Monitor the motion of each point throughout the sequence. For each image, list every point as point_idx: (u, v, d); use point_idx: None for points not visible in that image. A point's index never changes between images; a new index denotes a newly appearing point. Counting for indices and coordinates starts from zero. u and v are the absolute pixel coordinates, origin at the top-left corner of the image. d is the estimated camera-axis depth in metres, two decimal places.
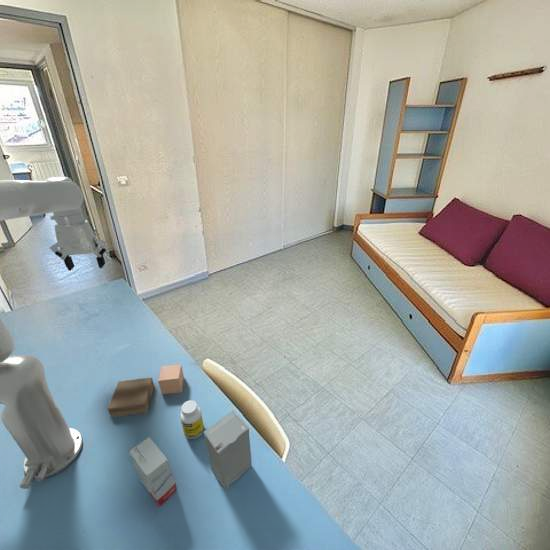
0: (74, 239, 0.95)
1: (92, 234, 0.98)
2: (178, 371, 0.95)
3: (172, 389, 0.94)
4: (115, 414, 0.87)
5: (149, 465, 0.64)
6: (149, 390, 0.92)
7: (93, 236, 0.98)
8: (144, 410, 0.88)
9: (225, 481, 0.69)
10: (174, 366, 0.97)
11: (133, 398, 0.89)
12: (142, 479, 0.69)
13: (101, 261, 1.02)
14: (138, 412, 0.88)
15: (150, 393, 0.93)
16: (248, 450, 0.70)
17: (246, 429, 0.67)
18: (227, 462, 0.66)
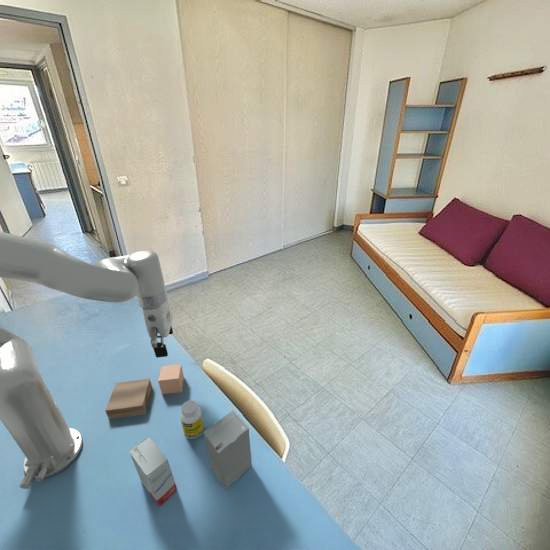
0: (167, 311, 0.85)
1: None
2: (178, 371, 0.95)
3: (172, 389, 0.94)
4: (113, 416, 0.87)
5: (149, 465, 0.64)
6: (147, 392, 0.92)
7: None
8: (142, 412, 0.88)
9: (225, 481, 0.69)
10: (174, 366, 0.97)
11: (130, 400, 0.88)
12: (142, 479, 0.69)
13: None
14: (136, 414, 0.88)
15: (148, 394, 0.92)
16: (248, 450, 0.70)
17: (246, 429, 0.67)
18: (227, 462, 0.66)
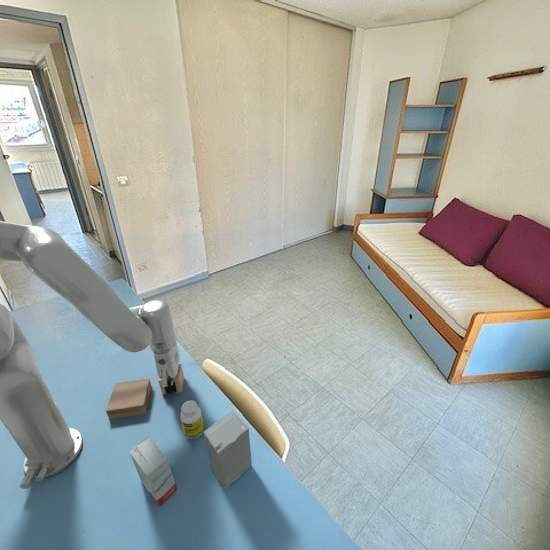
0: (175, 353, 0.92)
1: None
2: (178, 371, 0.95)
3: None
4: (114, 416, 0.87)
5: (149, 465, 0.64)
6: (147, 391, 0.92)
7: None
8: (143, 411, 0.88)
9: (225, 481, 0.69)
10: None
11: (131, 400, 0.88)
12: (142, 479, 0.69)
13: None
14: (137, 413, 0.88)
15: (148, 394, 0.93)
16: (248, 450, 0.70)
17: (246, 429, 0.67)
18: (227, 462, 0.66)
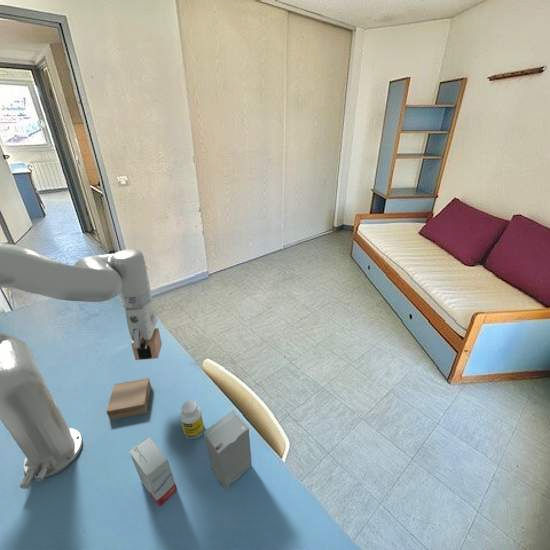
0: (151, 313, 0.83)
1: None
2: (154, 334, 0.85)
3: None
4: (114, 417, 0.87)
5: (149, 465, 0.64)
6: (147, 391, 0.92)
7: None
8: (144, 411, 0.88)
9: (225, 481, 0.69)
10: None
11: (131, 399, 0.88)
12: (142, 479, 0.69)
13: None
14: (137, 413, 0.88)
15: (148, 393, 0.93)
16: (248, 450, 0.70)
17: (246, 429, 0.67)
18: (227, 462, 0.66)
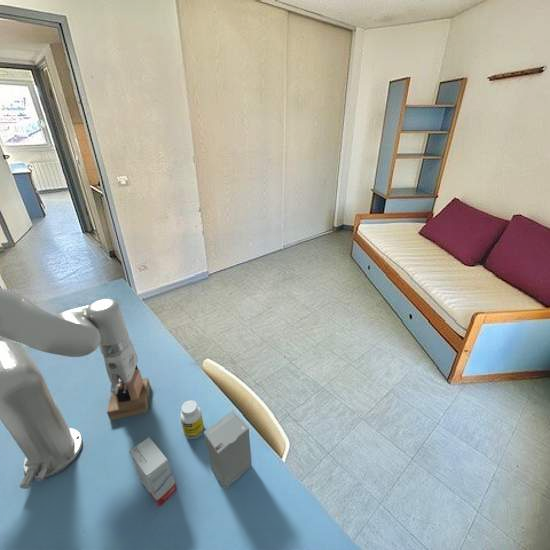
0: (130, 356, 0.85)
1: None
2: (134, 377, 0.88)
3: None
4: (115, 417, 0.86)
5: (149, 465, 0.64)
6: (147, 391, 0.92)
7: None
8: (144, 410, 0.88)
9: (225, 481, 0.69)
10: None
11: None
12: (142, 479, 0.69)
13: (135, 367, 0.94)
14: (138, 413, 0.88)
15: (148, 393, 0.93)
16: (248, 450, 0.70)
17: (246, 429, 0.67)
18: (227, 462, 0.66)
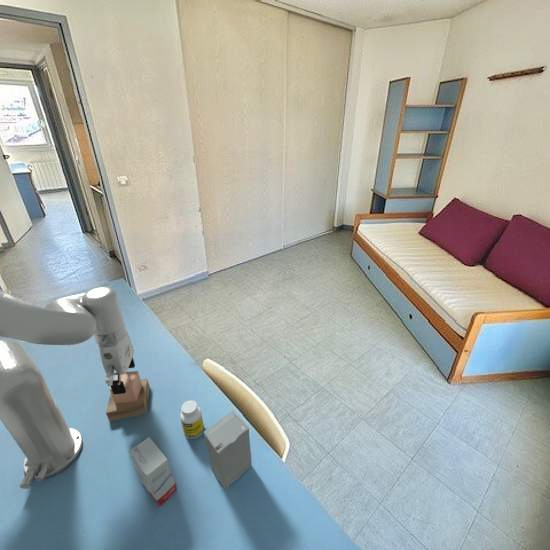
0: (127, 347, 0.83)
1: None
2: (133, 379, 0.87)
3: (126, 398, 0.87)
4: (114, 418, 0.86)
5: (149, 465, 0.64)
6: (146, 391, 0.92)
7: None
8: (144, 411, 0.88)
9: (225, 481, 0.69)
10: (130, 372, 0.89)
11: None
12: (142, 479, 0.69)
13: (131, 360, 0.92)
14: (137, 413, 0.88)
15: (147, 394, 0.93)
16: (248, 450, 0.70)
17: (246, 429, 0.67)
18: (227, 462, 0.66)
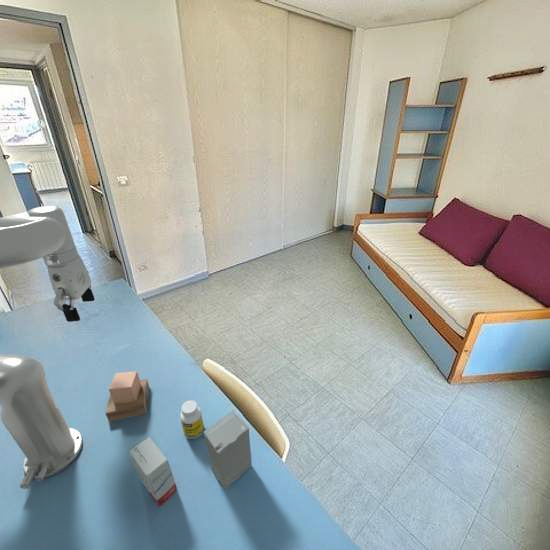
0: (80, 273, 0.82)
1: None
2: (132, 379, 0.87)
3: (125, 398, 0.87)
4: (114, 418, 0.86)
5: (149, 465, 0.64)
6: (146, 392, 0.92)
7: None
8: (143, 411, 0.88)
9: (225, 481, 0.69)
10: (129, 373, 0.89)
11: None
12: (142, 479, 0.69)
13: None
14: (137, 414, 0.88)
15: (147, 394, 0.93)
16: (248, 450, 0.70)
17: (246, 429, 0.67)
18: (227, 462, 0.66)
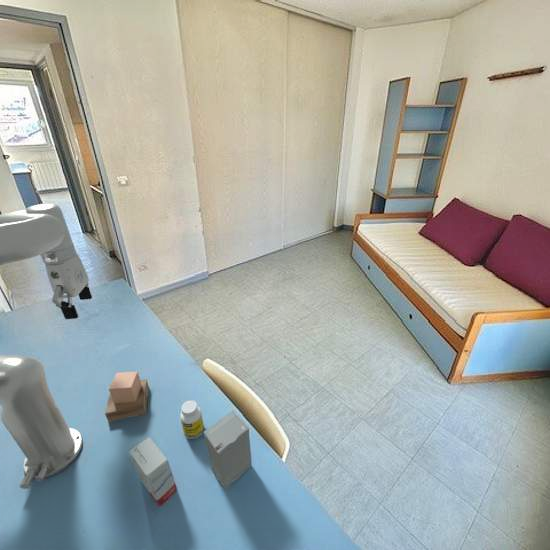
0: (78, 271, 0.82)
1: None
2: (132, 379, 0.87)
3: (125, 398, 0.87)
4: (113, 419, 0.86)
5: (149, 465, 0.64)
6: (145, 392, 0.92)
7: None
8: (143, 412, 0.88)
9: (225, 481, 0.69)
10: (130, 373, 0.89)
11: None
12: (142, 479, 0.69)
13: None
14: (136, 414, 0.88)
15: (146, 394, 0.93)
16: (248, 450, 0.70)
17: (246, 429, 0.67)
18: (227, 462, 0.66)
